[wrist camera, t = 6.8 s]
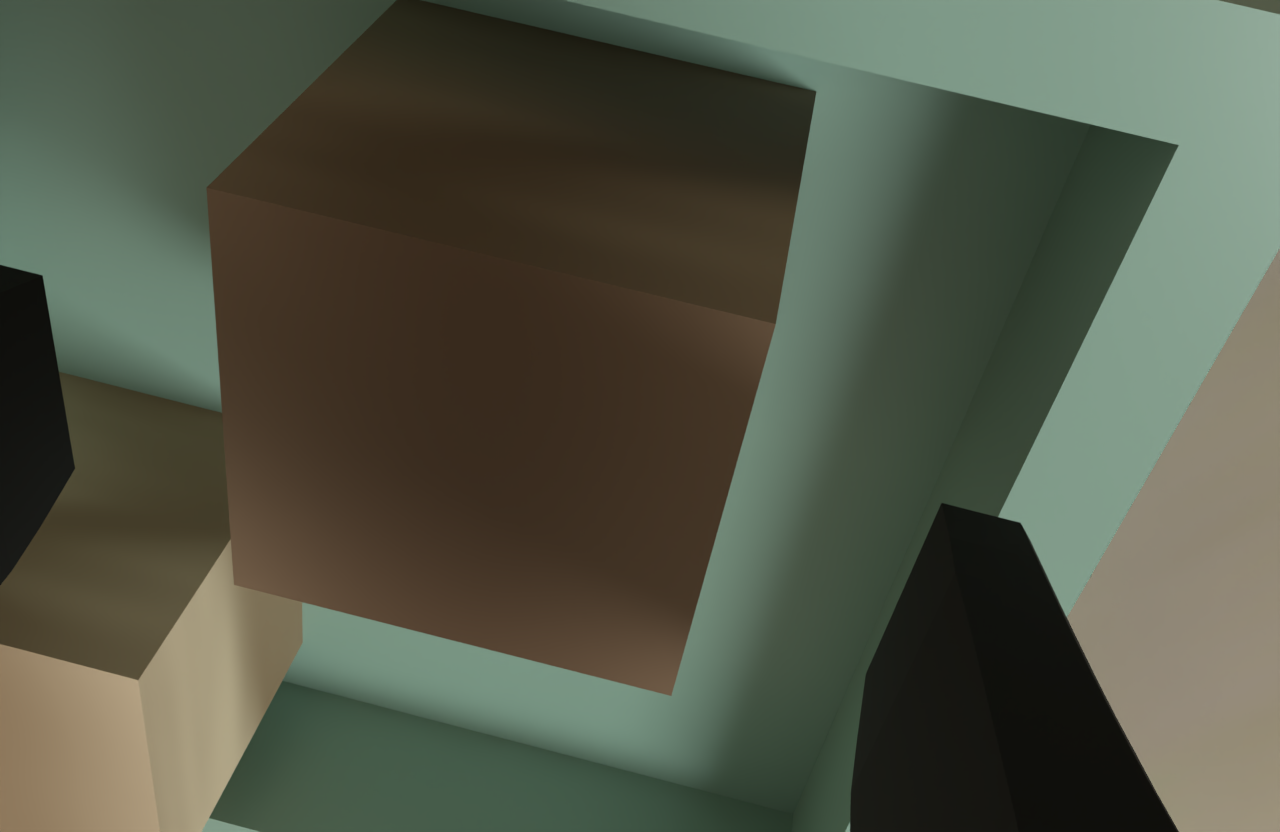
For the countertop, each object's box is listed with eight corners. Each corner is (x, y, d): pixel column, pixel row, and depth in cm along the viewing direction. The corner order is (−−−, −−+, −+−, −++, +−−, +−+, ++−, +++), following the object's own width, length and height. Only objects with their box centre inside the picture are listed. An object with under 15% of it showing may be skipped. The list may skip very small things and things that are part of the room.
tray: (1289, -86, 10) (1398, 42, 8) (844, 833, 19) (832, 1024, 17) (-275, -441, 11) (-606, -421, 8) (-12, 610, 20) (-139, 764, 17)
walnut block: (817, 91, 11) (775, 325, 8) (728, 421, 14) (672, 696, 11) (400, -5, 12) (206, 186, 8) (388, 338, 14) (233, 584, 11)
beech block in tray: (300, 432, 15) (139, 679, 12) (303, 642, 18) (169, 893, 15) (-7, 355, 15) (-245, 579, 12) (38, 574, 18) (-150, 807, 15)
